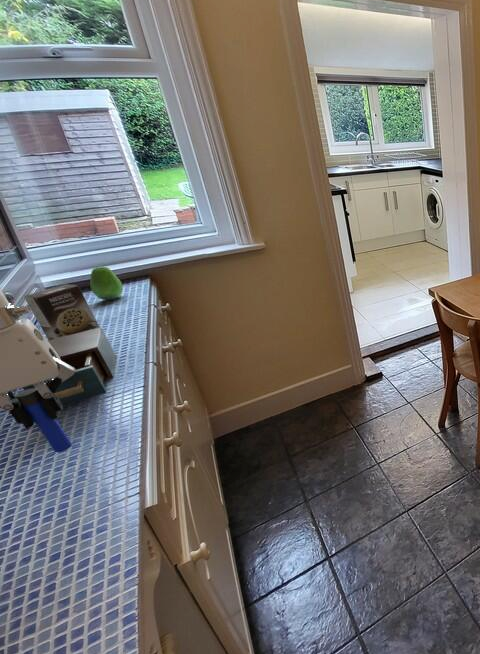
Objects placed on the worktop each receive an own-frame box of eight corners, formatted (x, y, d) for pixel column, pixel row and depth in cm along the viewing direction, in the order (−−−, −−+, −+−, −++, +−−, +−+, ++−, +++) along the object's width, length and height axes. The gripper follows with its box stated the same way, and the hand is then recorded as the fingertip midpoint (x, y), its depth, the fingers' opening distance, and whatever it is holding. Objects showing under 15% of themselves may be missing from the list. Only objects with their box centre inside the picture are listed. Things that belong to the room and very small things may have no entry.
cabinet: (114, 377, 98) (97, 346, 95) (45, 398, 92) (24, 366, 88) (116, 355, 108) (101, 327, 104) (54, 373, 101) (36, 343, 98)
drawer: (105, 401, 88) (90, 375, 85) (36, 424, 82) (17, 396, 79) (109, 369, 100) (96, 345, 97) (49, 387, 94) (33, 362, 91)
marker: (57, 454, 71) (19, 398, 66) (51, 450, 72) (12, 395, 67) (75, 445, 73) (39, 389, 68) (69, 441, 74) (33, 386, 69)
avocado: (128, 298, 145) (113, 266, 140) (99, 305, 140) (82, 272, 135) (125, 292, 151) (111, 261, 145) (97, 299, 145) (80, 267, 140)
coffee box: (66, 352, 111) (34, 298, 104) (53, 349, 113) (20, 295, 106) (106, 336, 118) (79, 285, 111) (93, 333, 120) (65, 283, 114)
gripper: (57, 300, 69) (108, 389, 77) (-96, 333, 60) (-21, 431, 68) (50, 313, 64) (106, 408, 71) (-120, 352, 54) (-35, 456, 62)
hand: (43, 418), depth 69 cm, fingers closed on marker, 2 cm apart
